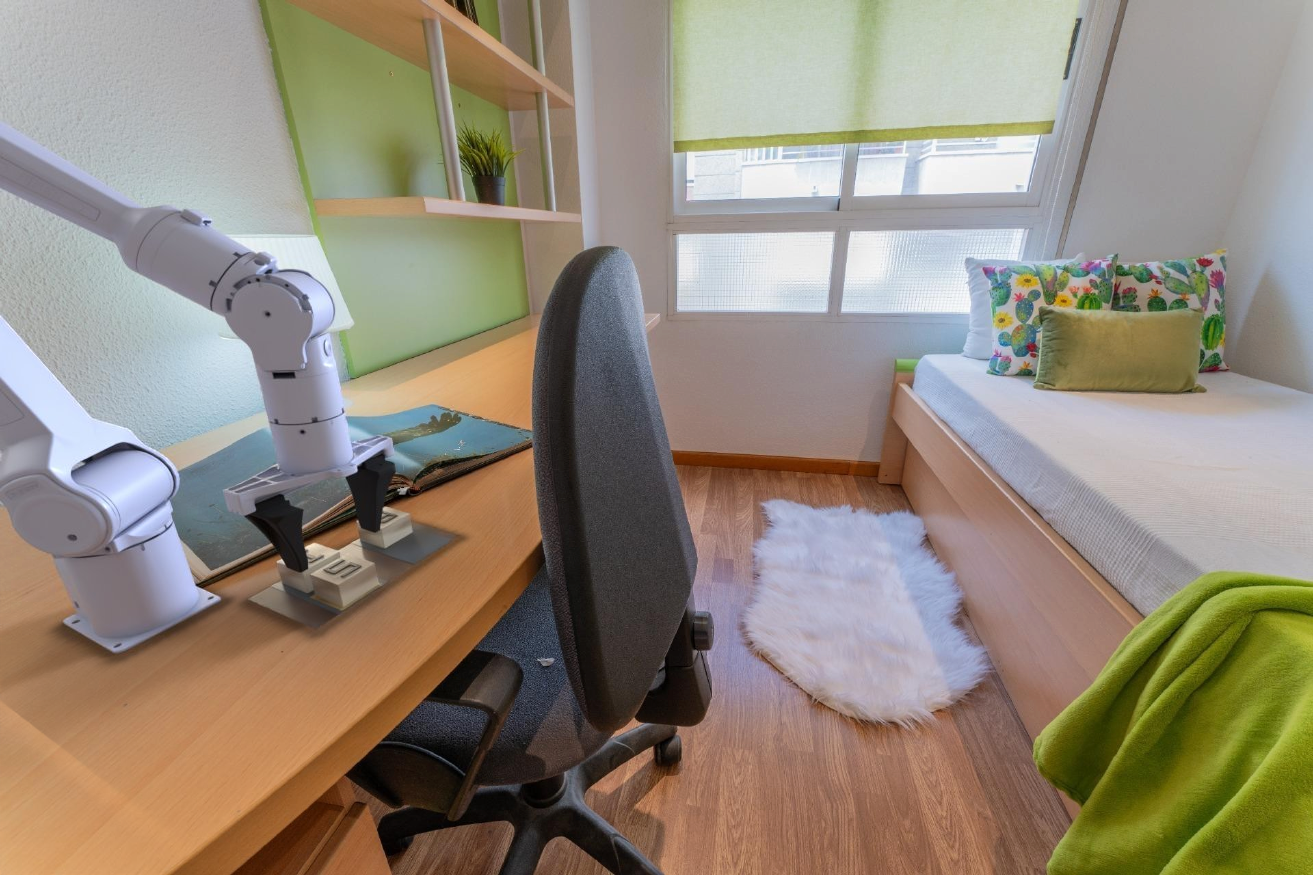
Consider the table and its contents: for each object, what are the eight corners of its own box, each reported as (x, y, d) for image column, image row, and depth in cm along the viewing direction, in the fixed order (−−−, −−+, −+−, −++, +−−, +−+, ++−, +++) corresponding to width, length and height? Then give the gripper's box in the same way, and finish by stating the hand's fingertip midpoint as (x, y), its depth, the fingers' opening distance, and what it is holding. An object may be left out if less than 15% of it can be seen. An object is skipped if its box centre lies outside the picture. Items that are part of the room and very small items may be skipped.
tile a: (360, 540, 61) (355, 520, 60) (388, 525, 64) (385, 505, 63) (384, 548, 59) (380, 528, 58) (412, 532, 63) (409, 512, 62)
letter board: (248, 602, 51) (247, 598, 51) (399, 519, 66) (399, 516, 66) (316, 632, 47) (315, 628, 47) (460, 538, 63) (459, 534, 62)
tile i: (281, 583, 53) (275, 560, 52) (319, 562, 57) (313, 541, 56) (307, 593, 52) (301, 570, 51) (344, 572, 55) (339, 550, 54)
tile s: (315, 596, 51) (309, 573, 50) (351, 574, 55) (347, 552, 54) (343, 607, 50) (337, 583, 49) (379, 584, 53) (374, 561, 52)
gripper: (247, 449, 38) (288, 602, 43) (408, 400, 50) (425, 522, 55) (190, 434, 41) (235, 579, 45) (357, 391, 53) (378, 508, 58)
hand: (336, 547), depth 50 cm, fingers open, 7 cm apart
